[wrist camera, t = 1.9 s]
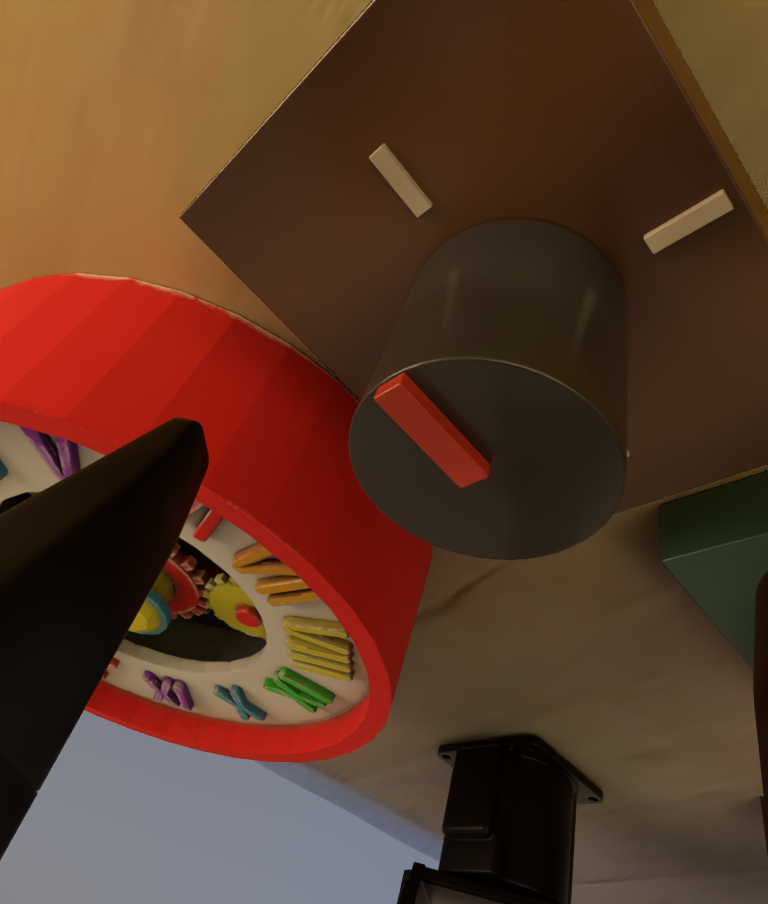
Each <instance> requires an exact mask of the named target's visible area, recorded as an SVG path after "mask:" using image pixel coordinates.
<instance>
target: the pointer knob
mask: <svg viewBox="0 0 768 904" xmlns="http://www.w3.org/2000/svg"><path fill="white" fill-rule="evenodd" d="M627 396H628V306H627V300H626V295H625V291H624V288H623V286H622V283H621V281H620V278H619V277H618V275H617V273H616V272H615V270H614V268H613V266H612V265H611V264H610V263H609V261H608V260H607V259H606V258H605V257H604V255H603V254H602V253H601V252H599V251H598V250H597V249H596V248H595V247H594V246H593V245H592V244H590V243H589V242H587V241H586V240H584V239H583V238H582V237H580V236H578V235H576V234H574V233H572V232H571V231H569V230H567V229H564V228H561V227H559V226H556V225H553V224H550V223H545V222H540V221H536V220H525V219H507V220H499V221H493V222H487V223H484V224H481V225H477V226H474V227H472V228H469V229H467V230H465V231H463V232H461V233H459V234H457V235H456V236H454V237H452V238H451V239H449V240H448V241H447V242H445V243H444V244H443V245H442V246H441V247H439V248H438V249H437V250H436V251H435V252H434V253H433V254H432V256H431V257H430V258H429V259H428V260H427V262H426V263H425V265H424V266H423V268H422V269H421V271H420V273H419V275H418V278H417V280H416V282H415V284H414V286H413V288H412V290H411V293H410V295H409V297H408V299H407V301H406V303H405V305H404V308H403V310H402V312H401V314H400V316H399V318H398V321H397V323H396V325H395V327H394V329H393V331H392V334H391V336H390V338H389V340H388V342H387V344H386V346H385V349H384V351H383V353H382V355H381V357H380V359H379V362H378V364H377V366H376V368H375V370H374V372H373V375H372V377H371V379H370V381H369V383H368V385H367V387H366V390H365V392H364V394H363V396H362V398H361V400H360V403H359V405H358V407H357V409H356V411H355V413H354V416H353V418H352V422H351V425H350V429H349V440H348V444H349V455H350V459H351V463H352V467H353V470H354V472H355V475H356V477H357V479H358V481H359V483H360V485H361V487H362V488H363V490H364V492H365V493H366V494H367V496H368V497H369V498H370V499H371V501H372V502H373V503H374V504H375V505H376V506H377V507H378V508H379V509H380V510H381V511H382V513H384V514H385V515H386V516H387V517H388V518H390V519H391V520H392V521H393V522H394V523H396V524H397V525H399V526H400V527H402V528H403V529H404V530H406V531H408V532H409V533H411V534H413V535H415V536H416V537H418V538H420V539H422V540H424V541H426V542H429V543H431V544H433V545H435V546H438V547H441V548H444V549H446V550H449V551H453V552H457V553H460V554H464V555H469V556H474V557H480V558H489V559H505V560H514V559H528V558H535V557H542V556H546V555H550V554H554V553H557V552H560V551H563V550H566V549H568V548H571V547H573V546H575V545H577V544H579V543H581V542H583V541H584V540H586V539H587V538H589V537H590V536H592V535H593V534H595V533H596V532H597V531H598V530H599V529H600V528H602V527H603V526H604V525H605V524H606V523H607V521H608V520H609V519H610V518H611V516H612V515H613V514H614V512H615V511H616V509H617V507H618V505H619V503H620V502H621V499H622V496H623V493H624V490H625V485H626V477H627Z"/></svg>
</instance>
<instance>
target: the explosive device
mask: <svg viewBox="0 0 768 904" xmlns="http://www.w3.org/2000/svg"><path fill="white" fill-rule="evenodd" d="M760 799H761V807H762V814H763V822H764V830H765V838H766V845H767V853H768V832H767V822H766V812H765V803H764V797H762V796H760Z"/></svg>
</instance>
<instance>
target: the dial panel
mask: <svg viewBox="0 0 768 904" xmlns="http://www.w3.org/2000/svg"><path fill="white" fill-rule="evenodd" d="M180 218H181V219H182V221H183V222H184V223H185V224H186V225H187V226H188V227H189V228H190V229H191V230H192V231H193V232H194V233H195V234H196V235H197V236H198V237H199V238H200V239H201V240H202V241H203V242H204V243H205V244H206V245H207V246H208V247H209V248H210V249H211V250H212V251H213V252H214V253H215V254H216V255H217V256H218V257H219V258H220V259H221V260H222V261H223V262H224V263H225V264H226V265H227V266H228V267H229V268H230V269H231V270H232V271H233V272H234V273H235V274H236V275H237V276H238V277H239V278H240V279H241V280H242V281H243V282H244V283H245V284H246V285H247V286H248V287H249V288H250V289H251V290H252V291H253V292H254V293H255V294H256V295H257V296H258V297H259V298H260V299H261V300H262V301H263V302H264V303H265V304H266V305H267V306H268V307H269V308H270V309H271V310H272V311H273V312H274V313H275V315H276V316H277V317H278V318H279V319H280V320H281V321H282V322H283V323H284V324H285V325H286V326H287V327H288V328H289V329H290V330H291V331H292V332H293V333H294V334H295V335H296V336H297V337H298V338H299V339H300V340H301V341H302V342H303V343H304V344H305V345H306V346H307V347H308V348H309V349H310V350H311V351H312V352H313V353H314V354H315V355H316V356H317V357H318V358H319V359H320V360H321V361H322V362H323V363H324V364H325V365H326V366H327V367H328V368H329V369H330V370H331V371H332V372H333V373H334V374H335V375H336V376H337V377H338V378H339V379H340V380H341V381H342V382H343V383H344V384H345V385H346V386H347V387H348V388H349V389H350V390H351V391H352V392H353V393H354V394H355V395H356V396H357V397H358V398H359V399H360V400H361V398H362V396H363V394H364V392H365V390H366V387H367V385H368V383H369V381H370V379H371V377H372V375H373V372H374V370H375V368H376V366H377V364H378V362H379V359H380V357H381V355H382V353H383V351H384V349H385V346H386V344H387V342H388V340H389V338H390V336H391V334H392V331H393V329H394V327H395V325H396V323H397V321H398V318H399V316H400V314H401V312H402V310H403V308H404V305H405V303H406V301H407V299H408V297H409V295H410V293H411V290H412V288H413V286H414V284H415V282H416V280H417V278H418V275H419V273H420V271H421V269H422V268H423V266H424V265H425V263H426V262H427V260H428V259H429V258H430V257H431V256H432V254H433V253H434V252H435V251H436V250H437V249H438V248H439V247H441V246H442V245H443V244H444V243H445V242H447V241H448V240H449V239H451V238H452V237H454V236H456V235H457V234H459V233H461V232H463V231H465V230H467V229H469V228H472V227H474V226H477V225H481V224H484V223H487V222H493V221H499V220H507V219H525V220H536V221H540V222H545V223H550V224H553V225H556V226H559V227H561V228H564V229H567V230H569V231H571V232H572V233H574V234H576V235H578V236H580V237H582V238H583V239H584V240H586V241H587V242H589V243H590V244H592V245H593V246H594V247H595V248H596V249H597V250H598V251H599V252H601V253H602V254H603V255H604V257H605V258H606V259H607V260H608V261H609V263H610V264H611V265H612V266H613V268H614V270H615V272H616V273H617V275H618V277H619V278H620V281H621V283H622V286H623V288H624V291H625V295H626V300H627V306H628V396H627V477H626V485H625V490H624V493H623V496H622V499H621V502H620V503H619V505H618V507H617V509H616V511H615V512H614V513H617V512H621V511H624V510H627V509H630V508H633V507H636V506H639V505H642V504H645V503H648V502H651V501H654V500H658V499H661V498H664V497H667V496H670V495H673V494H676V493H679V492H682V491H685V490H688V489H692V488H695V487H698V486H701V485H704V484H707V483H710V482H713V481H716V480H719V479H722V478H726V477H729V476H732V475H735V474H738V473H741V472H744V471H747V470H750V469H753V468H756V467H759V466H763V465H766V464H768V210H767V208H766V207H765V205H764V203H763V201H762V199H761V198H760V196H759V194H758V192H757V190H756V188H755V187H754V185H753V183H752V181H751V179H750V178H749V176H748V174H747V172H746V170H745V168H744V167H743V165H742V163H741V161H740V159H739V158H738V156H737V154H736V152H735V150H734V149H733V147H732V145H731V143H730V141H729V139H728V138H727V136H726V134H725V132H724V130H723V129H722V127H721V125H720V123H719V121H718V119H717V118H716V116H715V114H714V112H713V110H712V109H711V107H710V105H709V103H708V101H707V100H706V98H705V96H704V94H703V92H702V90H701V89H700V87H699V85H698V83H697V81H696V80H695V78H694V76H693V74H692V72H691V70H690V69H689V67H688V65H687V63H686V61H685V60H684V58H683V56H682V54H681V52H680V51H679V49H678V47H677V45H676V43H675V41H674V40H673V38H672V36H671V34H670V32H669V31H668V29H667V27H666V25H665V23H664V21H663V20H662V18H661V16H660V14H659V12H658V11H657V9H656V7H655V5H654V3H653V2H652V0H372V1H371V2H370V3H369V5H368V6H367V7H366V8H365V9H364V10H363V11H362V12H361V14H360V15H359V16H358V17H357V18H356V19H355V20H354V21H353V22H352V24H351V25H350V26H349V27H348V28H347V29H346V30H345V31H344V33H343V34H342V35H341V36H340V37H339V38H338V39H337V40H336V41H335V43H334V44H333V45H332V46H331V47H330V48H329V49H328V50H327V52H326V53H325V54H324V55H323V56H322V57H321V58H320V59H319V60H318V62H317V63H316V64H315V65H314V66H313V67H312V68H311V69H310V71H309V72H308V73H307V74H306V75H305V76H304V77H303V78H302V79H301V81H300V82H299V83H298V84H297V85H296V86H295V87H294V88H293V90H292V91H291V92H290V93H289V94H288V95H287V96H286V97H285V98H284V100H283V101H282V102H281V103H280V104H279V105H278V106H277V107H276V109H275V110H274V111H273V112H272V113H271V114H270V115H269V116H268V117H267V119H266V120H265V121H264V122H263V123H262V124H261V125H260V126H259V128H258V129H257V130H256V131H255V132H254V133H253V134H252V135H251V136H250V138H249V139H248V140H247V141H246V142H245V143H244V144H243V145H242V147H241V148H240V149H239V150H238V151H237V152H236V153H235V154H234V155H233V157H232V158H231V159H230V160H229V161H228V162H227V163H226V164H225V166H224V167H223V168H222V169H221V170H220V171H219V172H218V173H217V174H216V176H215V177H214V178H213V179H212V180H211V181H210V182H209V183H208V185H207V186H206V187H205V188H204V189H203V190H202V191H201V192H200V193H199V195H198V196H197V197H196V198H195V199H194V200H193V201H192V202H191V204H190V205H189V206H188V207H187V208H186V209H185V210H184V211H183V212H182V214H181V215H180Z"/></svg>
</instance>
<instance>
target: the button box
mask: <svg viewBox="0 0 768 904" xmlns="http://www.w3.org/2000/svg"><path fill="white" fill-rule="evenodd" d="M659 516H660V542H661V562H662V563H663V564H664V566H665V567H666V568H667V569H668V570H669V571H670V573H671V574H672V575H673V576H674V577H675V579H676V580H677V581H678V582H679V583H680V584H681V586H682V587H683V588H684V589H685V590H686V591H687V593H688V594H689V595H690V596H691V597H692V599H693V600H694V601H695V602H696V603H697V604H698V606H699V607H700V608H701V609H702V610H703V612H704V613H705V614H706V615H707V616H708V617H709V619H710V620H711V621H712V622H713V623H714V624H715V626H716V627H717V628H718V629H719V630H720V632H721V633H722V634H723V635H724V636H725V637H726V639H727V640H728V641H729V642H730V643H731V644H732V646H733V647H734V648H735V649H736V650H737V652H738V653H739V654H740V655H741V656H742V657H743V659H744V660H745V661H746V662H747V663H748V665H749V666H750V667H751V668H752V669H753V670H754V631H755V595H756V589H757V586H758V584H759V582H760V580H761V579H762V577H763V576H764V575H765V573H766V572H767V571H768V472H765V473H762V474H758V475H755V476H752V477H749V478H746V479H743V480H740V481H736V482H733V483H730V484H727V485H724V486H721V487H717V488H714V489H711V490H708V491H705V492H702V493H699V494H695V495H692V496H689V497H686V498H683V499H680V500H676V501H673V502H670V503H667V504H664V505H661V506H659Z"/></svg>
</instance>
